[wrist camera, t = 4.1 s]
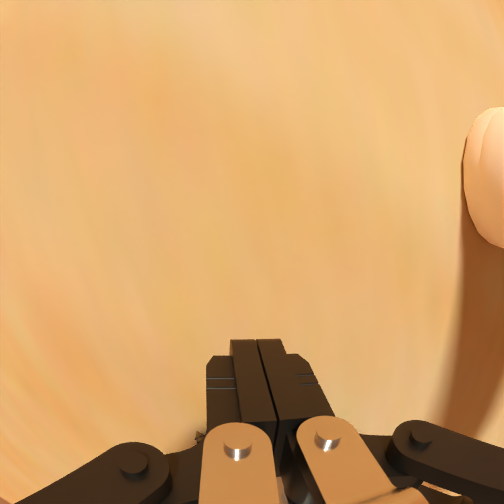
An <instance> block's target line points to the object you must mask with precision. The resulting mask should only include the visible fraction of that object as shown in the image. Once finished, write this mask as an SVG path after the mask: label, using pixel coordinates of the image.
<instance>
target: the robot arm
mask: <svg viewBox="0 0 504 504" xmlns="http://www.w3.org/2000/svg"><path fill="white" fill-rule="evenodd" d="M206 399H207V431H206V434H205V436H204V437H203V439H202V440H201V441H200V442H199V443H198V444H197V445H195V446H193V447H192V448H190V449H187V450H184V451H181V452H176V453H171V454H166V455H164V454H163V453H162V452H161V451H160V450H158V449H157V448H155V447H153V446H151V445H148V444H145V443H139V442H128V443H122V444H119V445H116V446H114V447H112V448H111V449H109V450H107V451H106V452H104V453H103V454H101V455H100V456H98V457H96V458H95V459H93V460H91V461H90V462H88V463H87V464H85V465H83V466H82V467H80V468H78V469H77V470H75V471H73V472H71V473H70V474H68V475H66V476H65V477H63V478H61V479H59V480H58V481H56V482H54V483H52V484H51V485H49V486H47V487H45V488H43V489H41V490H40V491H38V492H36V493H34V494H32V495H30V496H28V497H26V498H25V499H23V500H21V501H19V502H17V503H15V504H280V503H279V495H278V488H277V481H276V477H281V479H282V483H283V491H282V495H281V499H282V503H283V504H504V448H501V447H497V446H494V445H491V444H488V443H485V442H482V441H479V440H476V439H473V438H470V437H467V436H464V435H462V434H459V433H456V432H453V431H450V430H448V429H445V428H442V427H440V426H437V425H434V424H432V423H429V422H426V421H421V420H411V421H406V422H404V423H402V424H400V425H399V426H398V427H397V428H396V429H395V431H394V433H393V435H392V436H379V435H363V434H358V432H357V431H356V429H355V428H354V427H353V426H352V425H351V424H350V423H348V422H347V421H345V420H343V419H340V418H337V417H335V415H334V413H333V411H332V409H331V407H330V405H329V403H328V401H327V399H326V397H325V395H324V393H323V391H322V389H321V387H320V385H318V381H317V379H316V377H315V375H314V373H313V371H312V369H311V367H310V365H309V363H308V362H307V361H306V360H305V359H303V358H302V357H301V356H300V355H298V354H286V351H285V349H284V346H283V344H282V341H281V340H280V339H256V340H254V339H248V340H230V356H213V357H212V358H211V360H210V361H209V363H208V364H207V365H206ZM423 481H425V482H428V483H430V484H433V485H435V486H438V487H441V488H443V489H446V490H449V491H452V492H455V493H458V494H461V496H450V495H447V494H444V493H442V492H439V491H436V490H434V489H431V488H428V487H426V486H423V485H421V484H422V483H423Z"/></svg>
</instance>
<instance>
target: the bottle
mask: <svg viewBox="0 0 504 504" xmlns="http://www.w3.org/2000/svg"><path fill="white" fill-rule="evenodd" d="M463 166H464V191H465V196H466V201H467V206H468V211H469V215H470V217H471V219H472V221H473V223H474V225H475V227H476V229H477V231H478V233H479V234H480V235H481V236H482V237H483V238H484V239H486V240H487V241H488V242H489V243H490V244H493V245H496V246H498V247H501V248H503V249H504V107H498V108H488V109H487V110H486V111H484V112H483V113H482V114H481V115H479V116H478V117H477V118H476V120H475V122H474V124H473V126H472V128H471V130H470V132H469V134H468V138H467V143H466V149H465V154H464V160H463Z"/></svg>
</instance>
